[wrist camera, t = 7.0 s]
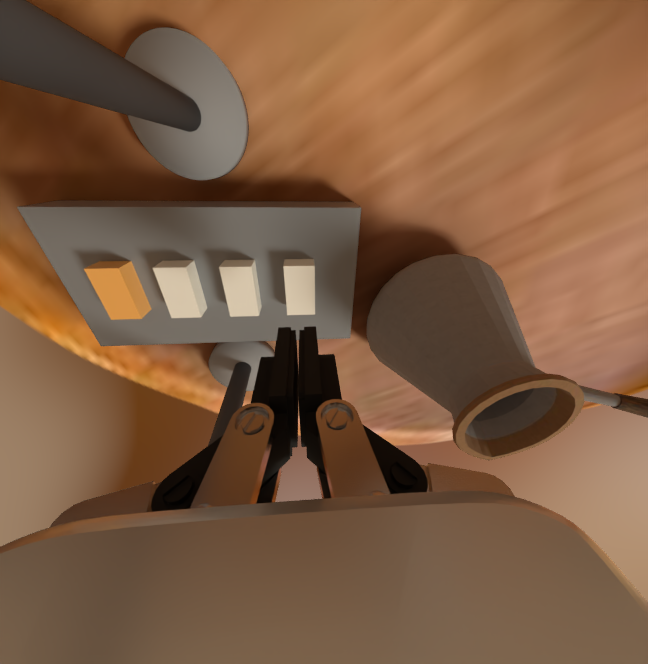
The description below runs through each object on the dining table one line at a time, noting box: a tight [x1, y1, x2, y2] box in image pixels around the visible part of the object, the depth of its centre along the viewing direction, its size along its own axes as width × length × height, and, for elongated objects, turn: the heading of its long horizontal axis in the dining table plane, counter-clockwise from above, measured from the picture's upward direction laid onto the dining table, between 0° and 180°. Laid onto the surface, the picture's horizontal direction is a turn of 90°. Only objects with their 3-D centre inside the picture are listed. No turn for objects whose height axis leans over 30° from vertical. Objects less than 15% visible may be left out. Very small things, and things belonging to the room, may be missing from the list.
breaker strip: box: [17, 200, 361, 346], centre depth 19 cm, size 20×10×4 cm, turn 89°
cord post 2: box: [208, 341, 275, 446], centre depth 17 cm, size 6×6×21 cm
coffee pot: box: [367, 254, 648, 460], centre depth 18 cm, size 21×12×15 cm, turn 87°
